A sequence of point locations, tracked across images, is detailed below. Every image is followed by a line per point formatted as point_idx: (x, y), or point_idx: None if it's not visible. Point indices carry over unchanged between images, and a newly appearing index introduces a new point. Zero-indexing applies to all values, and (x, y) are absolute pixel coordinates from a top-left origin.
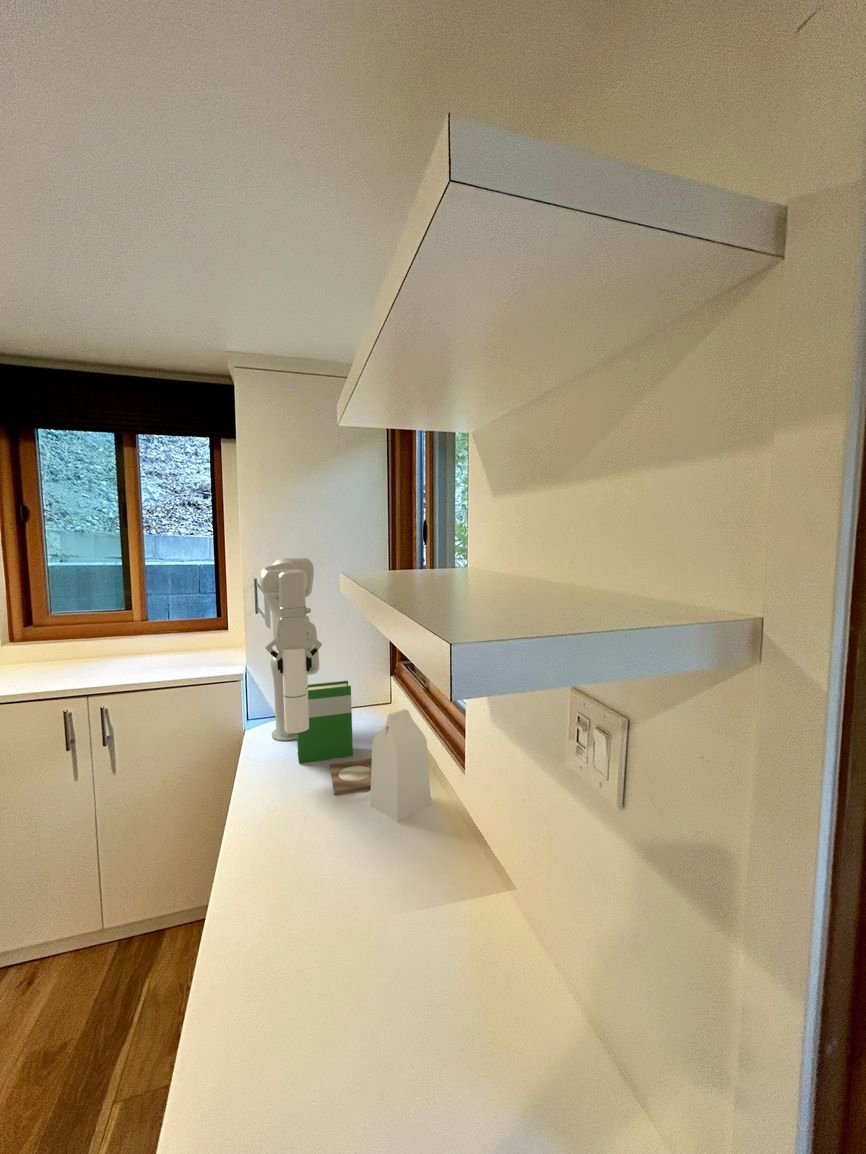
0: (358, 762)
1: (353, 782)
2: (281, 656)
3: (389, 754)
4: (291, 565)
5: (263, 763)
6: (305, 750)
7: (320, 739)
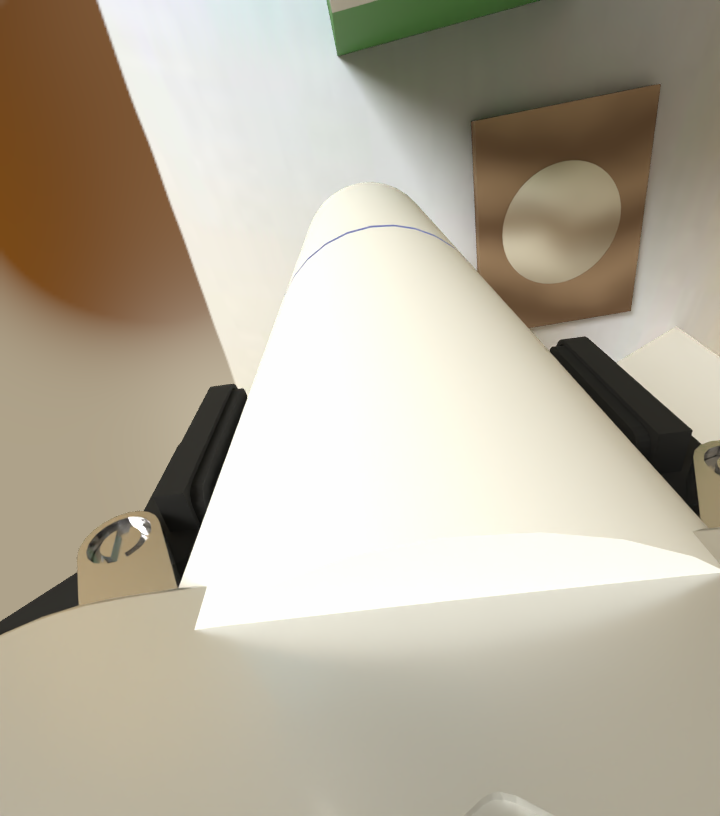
0: (589, 123)
1: (545, 292)
2: (184, 560)
3: None
4: None
5: (173, 21)
6: (369, 38)
7: (451, 7)
